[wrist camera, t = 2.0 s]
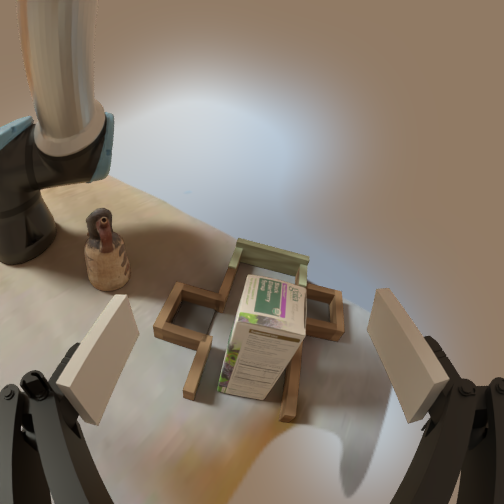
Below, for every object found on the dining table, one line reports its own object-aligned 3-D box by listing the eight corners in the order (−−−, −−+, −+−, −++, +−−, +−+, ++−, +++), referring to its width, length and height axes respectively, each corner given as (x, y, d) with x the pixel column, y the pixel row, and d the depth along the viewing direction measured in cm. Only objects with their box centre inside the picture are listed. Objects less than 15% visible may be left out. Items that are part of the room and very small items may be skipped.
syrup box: (225, 353, 33) (244, 270, 25) (270, 362, 34) (307, 284, 25) (216, 392, 29) (232, 319, 20) (265, 401, 29) (308, 335, 20)
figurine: (125, 256, 43) (119, 193, 36) (136, 285, 39) (129, 217, 32) (86, 266, 39) (73, 203, 32) (93, 297, 35) (76, 230, 28)
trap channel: (336, 428, 27) (352, 418, 25) (134, 379, 28) (128, 364, 25) (334, 282, 49) (342, 265, 46) (201, 247, 49) (203, 228, 47)
